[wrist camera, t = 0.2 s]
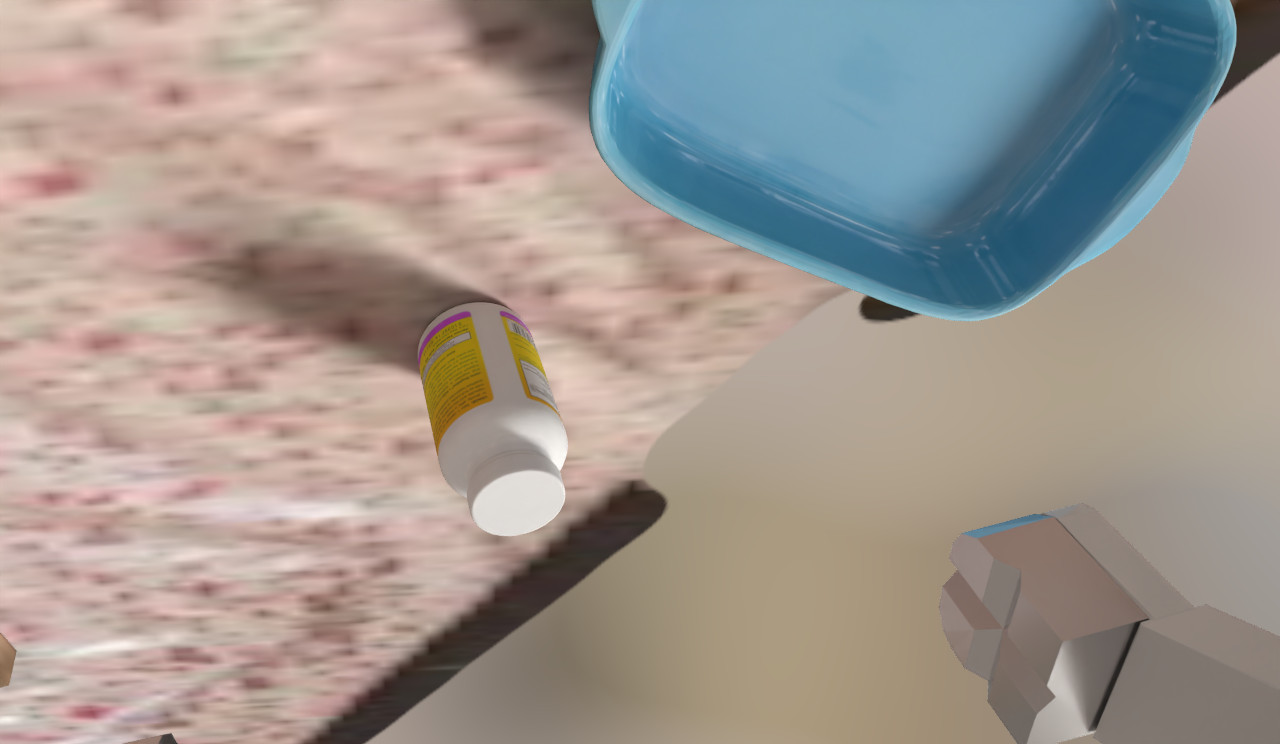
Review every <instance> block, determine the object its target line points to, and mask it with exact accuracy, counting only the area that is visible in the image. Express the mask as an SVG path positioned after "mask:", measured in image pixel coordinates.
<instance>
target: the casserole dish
mask: <svg viewBox="0 0 1280 744" xmlns="http://www.w3.org/2000/svg"><path fill="white" fill-rule="evenodd" d="M591 2H592V7H593V12H594V15H595V19H596V23H597V26H598V29H599V32H600V39H599V42H598V46H597V51H596V56H595V61H594V66H593V73H592V82H591V90H590V96H589V121H590V128H591V133H592V136H593V139H594V142H595V145H596V147H597V149H598V151H599V153H600V155H601V157H602V159H603V160H604V162H605V163H606V164H607V166H608V167H609V168H610V169H611V171H612V172H613V173H614V174H615V176H616V177H617V178H618V179H619V180H620V181H621V182H623V183H624V184H625V185H626V186H627V187H628V188H629V189H630V190H632V191H633V192H634V193H635V194H637V195H638V196H640V197H641V198H643V199H644V200H646V201H647V202H649V203H650V204H652V205H654V206H655V207H657V208H659V209H660V210H662V211H664V212H666V213H667V214H669V215H671V216H674V217H676V218H678V219H680V220H682V221H684V222H686V223H688V224H690V225H692V226H694V227H696V228H698V229H700V230H703V231H705V232H708V233H710V234H712V235H715V236H717V237H720V238H722V239H724V240H727V241H729V242H732V243H734V244H736V245H739V246H741V247H744V248H746V249H749V250H752V251H754V252H757V253H759V254H762V255H764V256H767V257H769V258H772V259H774V260H777V261H779V262H782V263H784V264H787V265H790V266H792V267H795V268H798V269H800V270H803V271H805V272H808V273H811V274H813V275H816V276H818V277H821V278H824V279H826V280H829V281H831V282H834V283H836V284H839V285H842V286H844V287H847V288H849V289H852V290H855V291H857V292H860V293H863V294H865V295H868V296H871V297H873V298H876V299H878V300H881V301H883V302H886V303H889V304H892V305H895V306H898V307H901V308H904V309H907V310H910V311H913V312H916V313H920V314H923V315H927V316H931V317H937V318H941V319H948V320H954V321H955V320H956V321H976V320H984V319H988V318H992V317H996V316H999V315H1002V314H1004V313H1007V312H1010V311H1012V310H1013V309H1016V308H1018V307H1020V306H1021V305H1023V304H1025V303H1027V302H1028V301H1030V300H1031V299H1033V298H1034V297H1036V296H1037V295H1038V294H1039V293H1041V292H1042V291H1044V290H1045V289H1046V288H1048V287H1049V286H1050V285H1052V284H1053V283H1054V282H1055V281H1057V280H1058V279H1059V278H1060V277H1061V276H1063V275H1064V274H1065V273H1067V272H1069V271H1071V270H1072V269H1074V268H1076V267H1078V266H1080V265H1082V264H1084V263H1086V262H1088V261H1089V260H1091V259H1093V258H1095V257H1097V256H1098V255H1100V254H1102V253H1103V252H1105V251H1106V250H1108V249H1109V248H1111V247H1112V246H1113V245H1115V244H1116V243H1117V242H1118V241H1120V240H1121V239H1122V238H1123V237H1125V236H1126V235H1127V234H1128V233H1129V232H1130V231H1131V230H1132V229H1133V228H1134V227H1135V226H1136V225H1137V224H1138V223H1139V222H1140V221H1141V220H1142V219H1143V218H1144V217H1145V216H1146V215H1147V214H1148V213H1149V211H1150V210H1151V209H1152V208H1153V207H1154V206H1155V204H1156V203H1157V202H1158V201H1159V199H1160V198H1161V197H1162V196H1163V195H1164V194H1165V192H1166V191H1167V190H1168V188H1169V187H1170V185H1171V184H1172V183H1173V181H1174V180H1175V178H1176V177H1177V175H1178V174H1179V172H1180V170H1181V168H1182V167H1183V165H1184V163H1185V160H1186V158H1187V155H1188V153H1189V151H1190V148H1191V144H1192V140H1193V136H1194V133H1195V129H1196V127H1197V125H1198V124H1199V122H1200V121H1201V119H1202V117H1203V115H1204V114H1205V113H1206V111H1207V110H1208V108H1209V107H1210V105H1211V104H1212V102H1213V100H1214V99H1215V97H1216V95H1217V93H1218V92H1219V90H1220V88H1221V86H1222V84H1223V82H1224V80H1225V78H1226V75H1227V73H1228V70H1229V68H1230V65H1231V62H1232V58H1233V54H1234V50H1235V46H1236V20H1235V16H1234V11H1233V7H1232V5H1231V2H1230V0H591Z"/></svg>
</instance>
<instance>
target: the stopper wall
mask: <svg viewBox="0 0 1280 744" xmlns="http://www.w3.org/2000/svg"><path fill="white" fill-rule="evenodd" d="M15 655H16V650H15V649H14V648H13V646H12V645H11V644H10V643H9V642H8V641H7V640H6V639H5V637H4V636H3V635H2V634H1V633H0V687H4V686H8V685H9V683H10V678H11V674H12V669H13V665H14V660H15Z"/></svg>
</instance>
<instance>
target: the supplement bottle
mask: <svg viewBox="0 0 1280 744" xmlns="http://www.w3.org/2000/svg"><path fill="white" fill-rule="evenodd" d="M418 364H419V370H420V375H421V379H422V384H423V389H424V394H425V399H426V404H427V408H428V413H429V418H430V422H431V427H432V432H433V437H434V441H435V446H436V451H437V455H438V460H439V464H440V468H441V471H442V474H443V476H444V478H445V480H446V481H447V483H448V484H449V485H450V486H451V488H452V489H454V490H455V491H456V492H457V493H459V494H460V495H462V496H463V497H465V498H467V500H468V504H469V508H470V513H471V516H472V518H473V520H474V522H475V523H476V525H477V526H478V527H480V528H481V529H482V530H484V531H486V532H488V533H491V534H495V535H500V536H515V535H521V534H525V533H528V532H531V531H534V530H536V529H539V528H540V527H542V526H544V525H545V524H547V523H548V522H550V521H551V520H552V519H553V518H554V517H555V516H556V515H557V514H558V512H559V511H560V509H561V508H562V506H563V504H564V500H565V489H564V485H563V482H562V478H561V473H560V470H561V468H562V466H563V464H564V461H565V458H566V454H567V449H568V441H567V435H566V431H565V428H564V425H563V422H562V419H561V417H560V414H559V411H558V409H557V406H556V403H555V400H554V397H553V394H552V392H551V389H550V386H549V383H548V380H547V377H546V375H545V372H544V369H543V366H542V363H541V360H540V357H539V355H538V352H537V349H536V346H535V343H534V341H533V338H532V335H531V333H530V331H529V329H528V327H527V325H526V324H525V322H524V321H523V320H522V319H521V318H520V317H519V316H518V315H517V314H516V313H515V312H513V311H512V310H510V309H508V308H506V307H504V306H501V305H497V304H493V303H486V302H475V303H467V304H462V305H459V306H456V307H454V308H451V309H449V310H447V311H445V312H444V313H442V314H441V315H439V316H438V317H437V318H435V319H434V320H433V321H432V322H431V323H430V324H429V326H428V327H427V328H426V330H425V331H424V333H423V335H422V337H421V339H420V342H419V346H418Z"/></svg>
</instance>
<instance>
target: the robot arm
mask: <svg viewBox="0 0 1280 744" xmlns="http://www.w3.org/2000/svg"><path fill="white" fill-rule="evenodd" d="M949 559H950V560H951V562H952V563H953V564H954V565H955V567H956V568H957V569H958V570H957V571H956V572H955V573H954V574H953V576H952V577H951V578H950V579H949V580H948V581H947V582H946V583H945V585H944V586H943V589H942V594H941V599H940V606H939V610H940V615H941V620H942V626H943V631H944V633H945V635H946V637H947V640H948V642H949V644H950V646H951V649H952V650H953V651H954V653H955V655H956V656H957V658H958V659H959V661H960V662H961V663H962V665H963V667H964V668H966V669H967V670H969V671H971V672H973V673H975V674H976V675H978V676H980V677H982V678H984V679H986V680H988V700H987V701H988V703H989V704H990V705H991V707H992V708H993V710H994V711H995V713H996V714H997V715H998V717H999V718H1000V720H1001V721H1002V723H1003V724H1004V725H1005V727H1006V728H1007V729H1008V731H1009V732H1010V734H1011V735H1012V737H1013V738H1014V740H1015V741H1016V742H1017V744H1056V743H1060V742H1063V741H1067V740H1070V739H1074V738H1077V737H1081V736H1085V735H1088V734H1092V733H1094V736H1093V738H1094V739H1096V740H1097V741H1099V742H1100V743H1102V744H1280V636H1278V635H1275V634H1273V633H1271V632H1269V631H1266V630H1264V629H1262V628H1259V627H1257V626H1255V625H1252V624H1250V623H1248V622H1245V621H1243V620H1241V619H1239V618H1236V617H1234V616H1232V615H1229V614H1227V613H1225V612H1223V611H1220V610H1218V609H1216V608H1213V607H1211V606H1209V605H1202V606H1197V607H1193V605H1192V604H1191V603H1190V602H1189V601H1187V600H1186V598H1184V596H1182V595H1181V594H1180V593H1179V592H1178V591H1177V590H1176V589H1175V588H1174V587H1173V586H1172V585H1171V584H1170V583H1169V582H1168V581H1167V580H1166V579H1165V578H1164V577H1163V576H1162V575H1161V574H1160V573H1159V572H1158V571H1157V570H1156V569H1155V568H1154V567H1153V566H1152V565H1151V564H1150V563H1149V562H1148V561H1147V560H1146V559H1145V558H1144V557H1143V556H1142V555H1141V554H1140V553H1139V552H1138V551H1137V550H1136V549H1135V548H1134V547H1133V546H1132V545H1131V544H1130V543H1129V542H1128V541H1127V540H1126V539H1125V538H1124V537H1123V536H1122V535H1121V534H1120V533H1119V532H1118V531H1117V530H1116V529H1115V528H1114V527H1113V526H1112V525H1111V524H1110V523H1109V522H1108V521H1107V520H1106V519H1105V518H1104V517H1103V516H1102V515H1101V514H1100V513H1099V512H1098V511H1097V510H1095V509H1094V508H1092V507H1090V506H1088V505H1086V504H1083V503H1081V504H1077V505H1072V506H1069V507H1065V508H1061V509H1057V510H1053V511H1049V512H1045V513H1042V514H1033V515H1029V516H1025V517H1021V518H1018V519H1014V520H1010V521H1006V522H1003V523H999V524H995V525H992V526H988V527H984V528H980V529H977V530H972V531H969V532H965V533H962V534H961V535H960V536H959V537H958V538H957V539H956V540H955V541H954V542H953V545H952V550H951V554H950V557H949ZM124 744H177V742H176V740H175V739H174V737H173V735H172V733H170V734H164V735H160V736H155V737H151V738H146V739H142V740H137V741H133V742H128V743H124Z"/></svg>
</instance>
